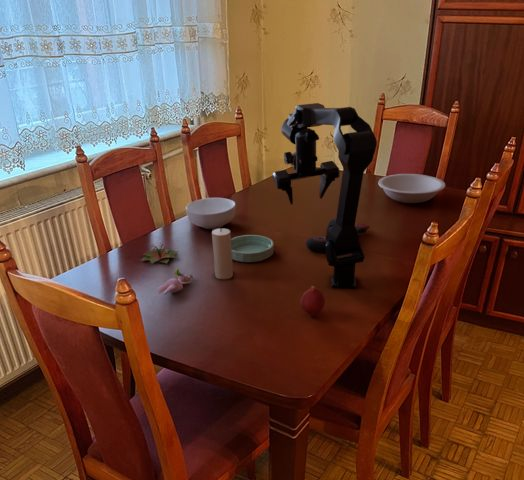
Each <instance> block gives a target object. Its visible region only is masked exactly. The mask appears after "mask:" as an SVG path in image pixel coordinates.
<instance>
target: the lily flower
mask: <svg viewBox="0 0 524 480" xmlns="http://www.w3.org/2000/svg"><path fill="white" fill-rule="evenodd" d="M161 243H162V242H159V245H160V247H158V246H157V245H154V244H153V245H151V247H153V249H152V250H150V251H147V252H145V253H143V255H146V256H144V257H142V258H141V261H150V264H151V265H152V264H154V263H155V262H161V263H164V264H168V262H169V261H170V258H172V259H178V257H177V256H176V254H178V253H179V251H176V250H170V249H169V248H167V246H164V243H162V244H161ZM163 246H164V247H163Z"/></svg>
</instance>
